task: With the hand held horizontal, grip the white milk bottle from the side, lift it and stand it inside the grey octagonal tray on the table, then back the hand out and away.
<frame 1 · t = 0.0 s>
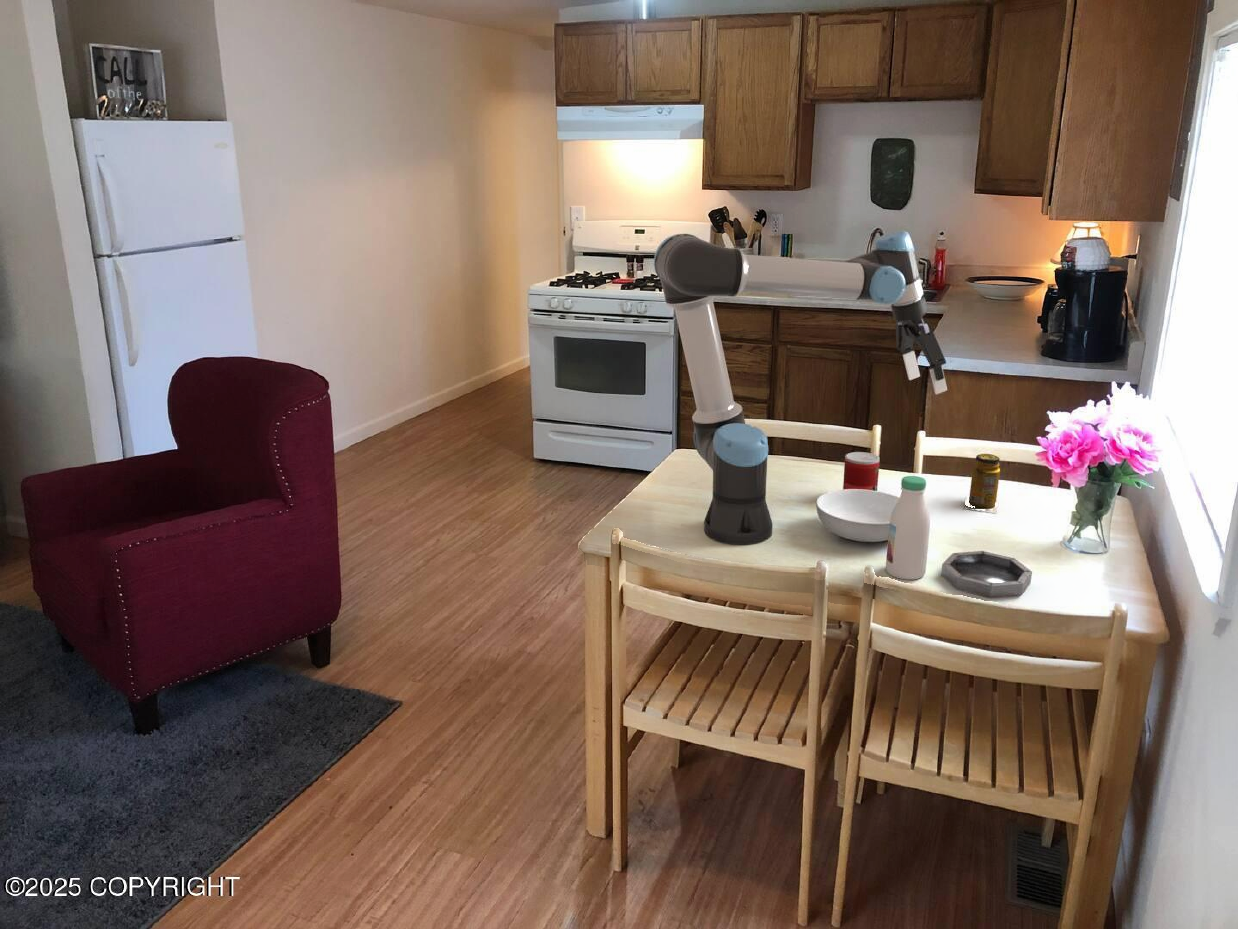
hand: (927, 384, 224), 28 cm above the table, tool tilted 20°, fingers open, 13 cm apart
condiment: (981, 506, 227), on the table
canned food: (859, 500, 231), on the table
grey octagonal tray: (985, 579, 189), on the table
serving bowl: (862, 534, 212), on the table
milk bottle: (905, 573, 192), on the table
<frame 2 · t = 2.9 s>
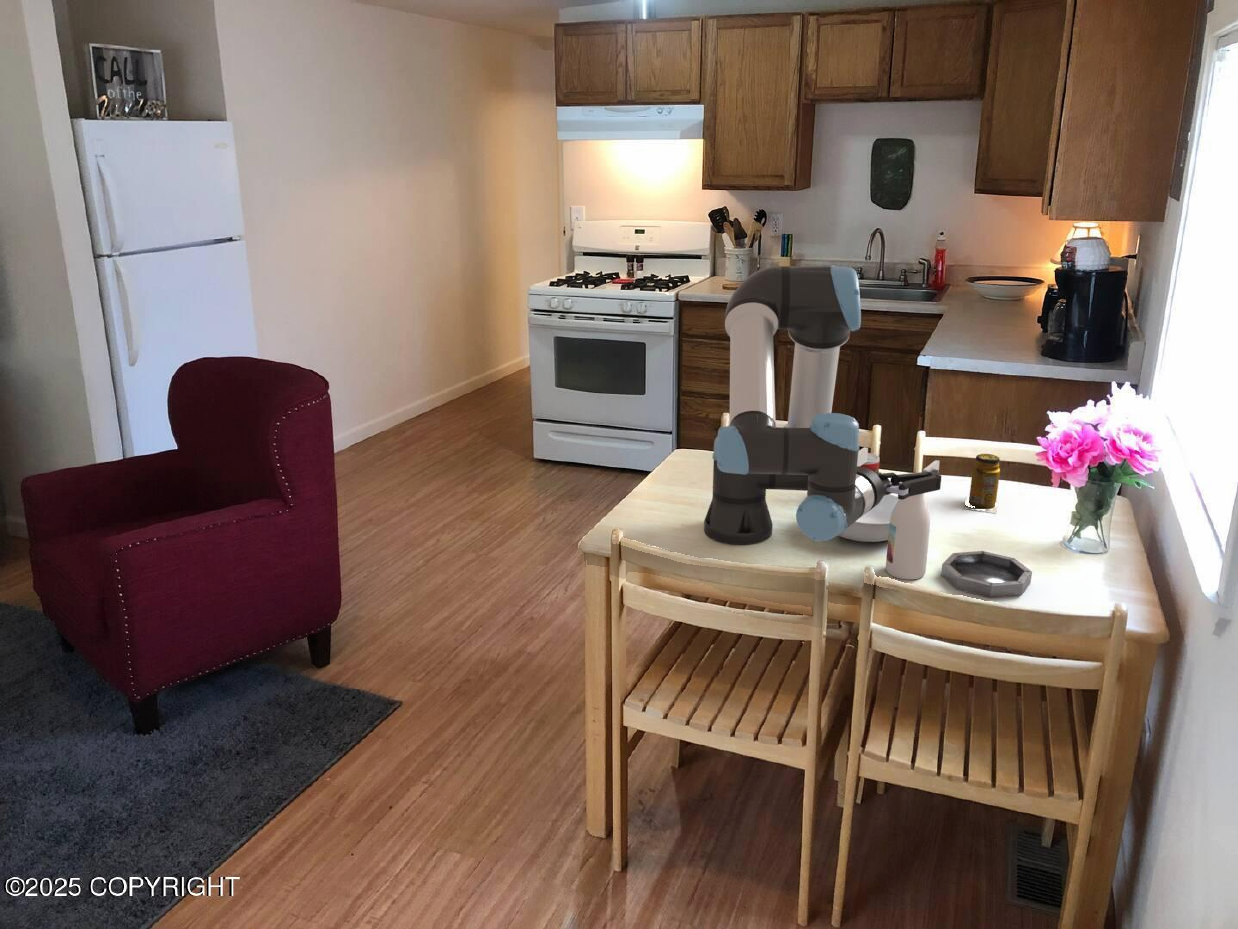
hand: (900, 460, 178), 26 cm above the table, tool horizontal, fingers open, 13 cm apart
nothing on the table moved.
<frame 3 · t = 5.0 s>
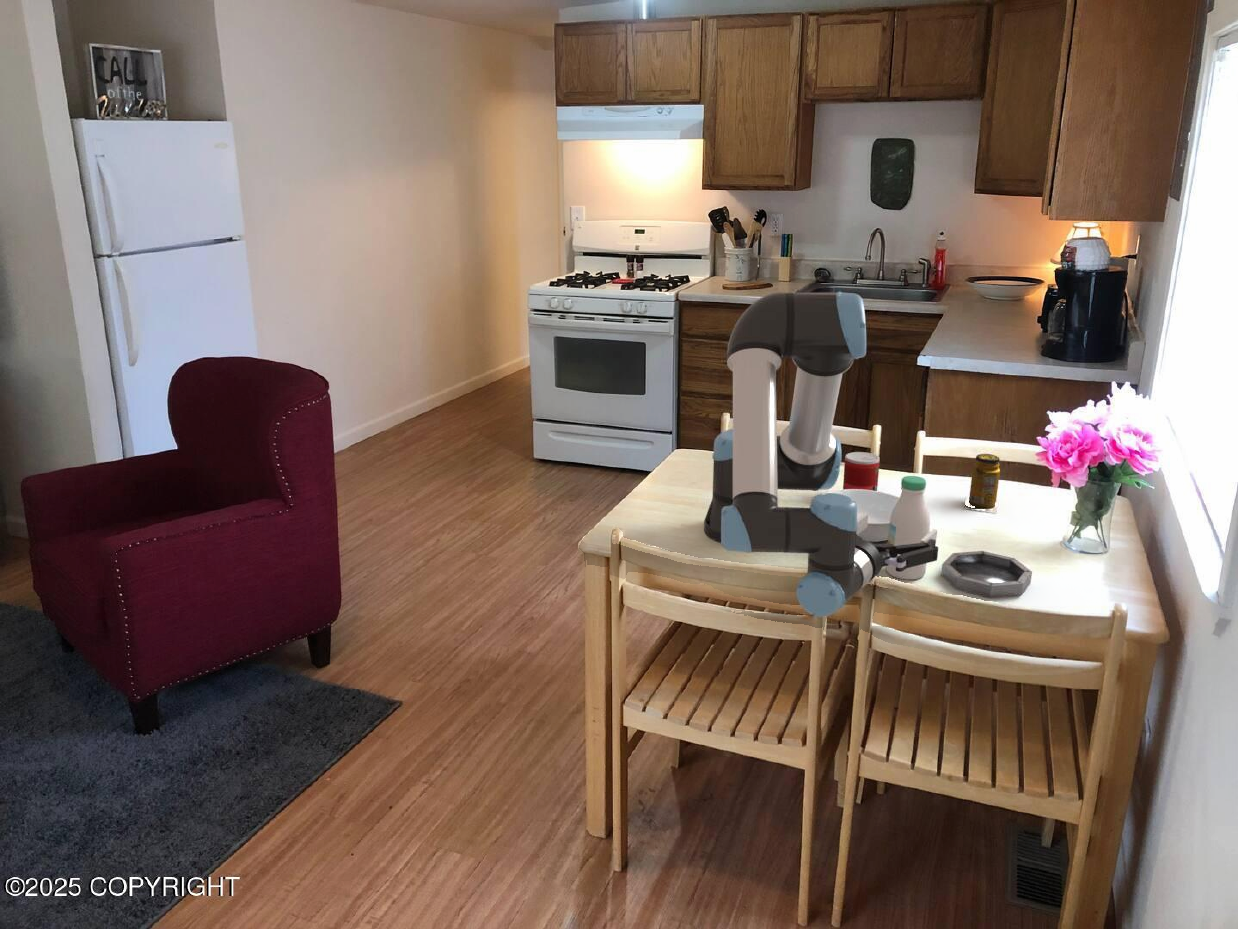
hand: (899, 527, 184), 12 cm above the table, tool horizontal, fingers open, 13 cm apart
nothing on the table moved.
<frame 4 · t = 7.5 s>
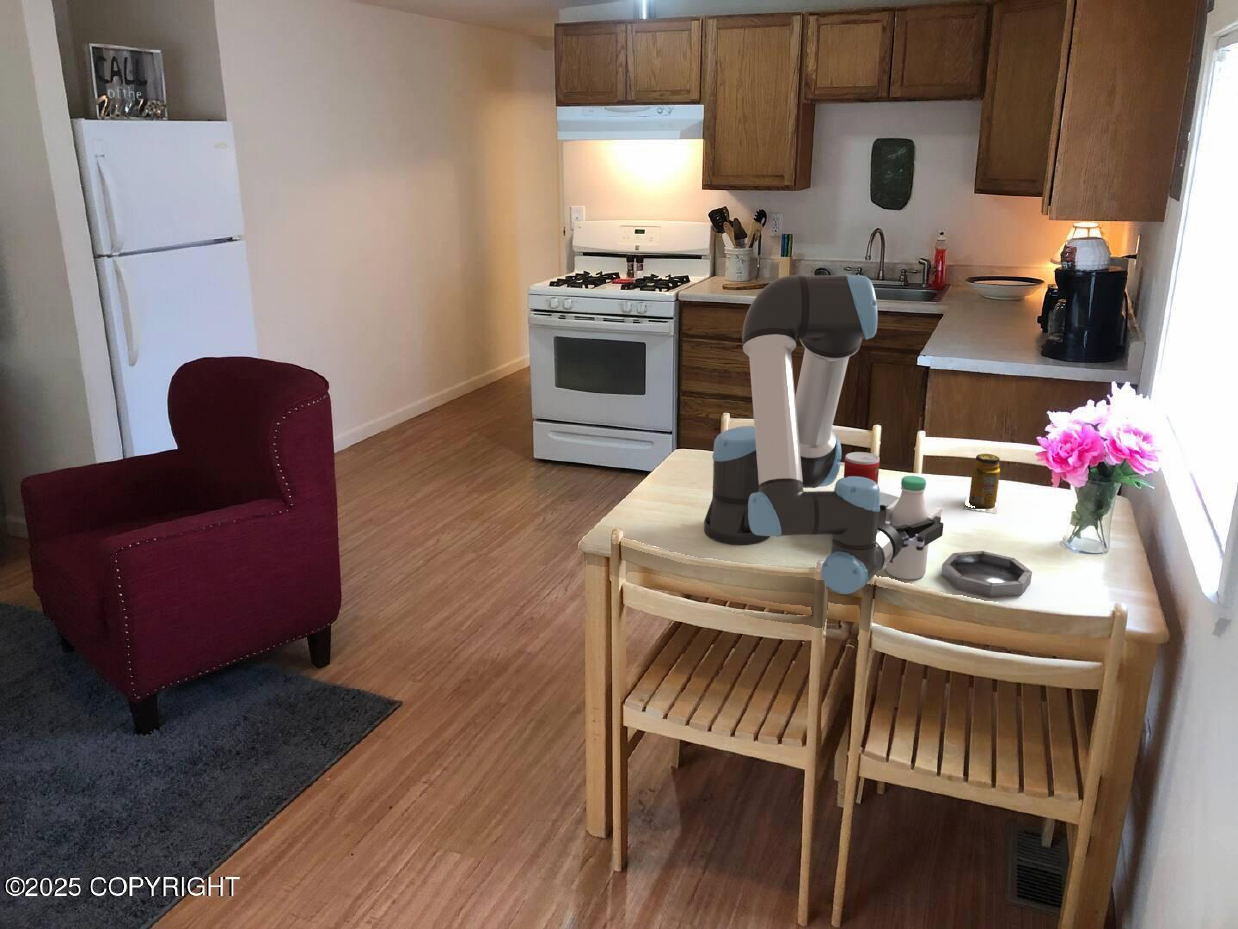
hand: (919, 509, 192), 12 cm above the table, tool horizontal, fingers closed on milk bottle, 7 cm apart
milk bottle: (905, 573, 192), on the table, touching gripper
everything else where it was.
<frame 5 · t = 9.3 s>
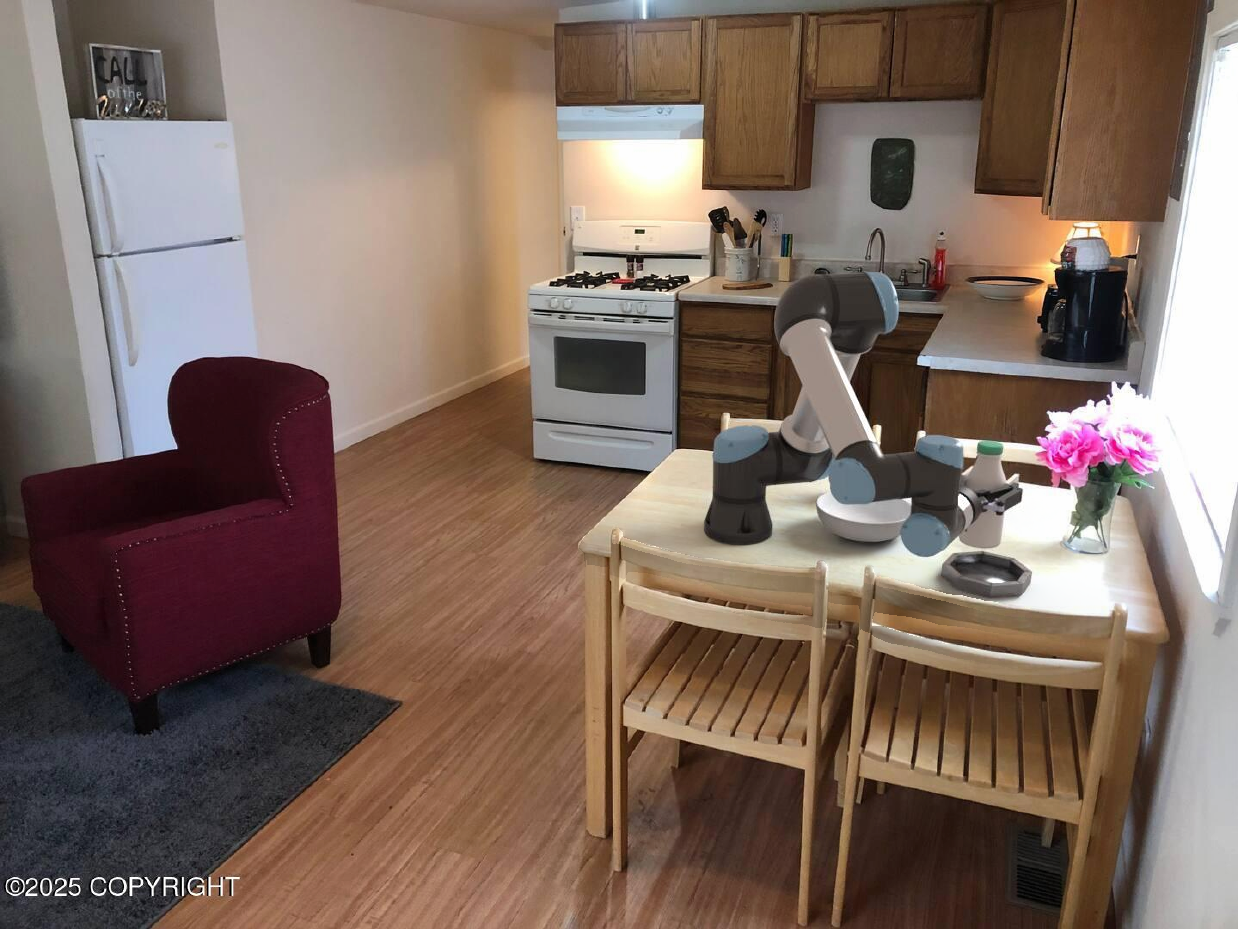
hand: (994, 476, 185), 20 cm above the table, tool horizontal, fingers closed on milk bottle, 7 cm apart
milk bottle: (979, 542, 186), point 8 cm above the table, touching gripper
everything else where it was.
when the fingers open (13 cm above the table, at t = 11.1 s): milk bottle stays where it is, resting on grey octagonal tray.
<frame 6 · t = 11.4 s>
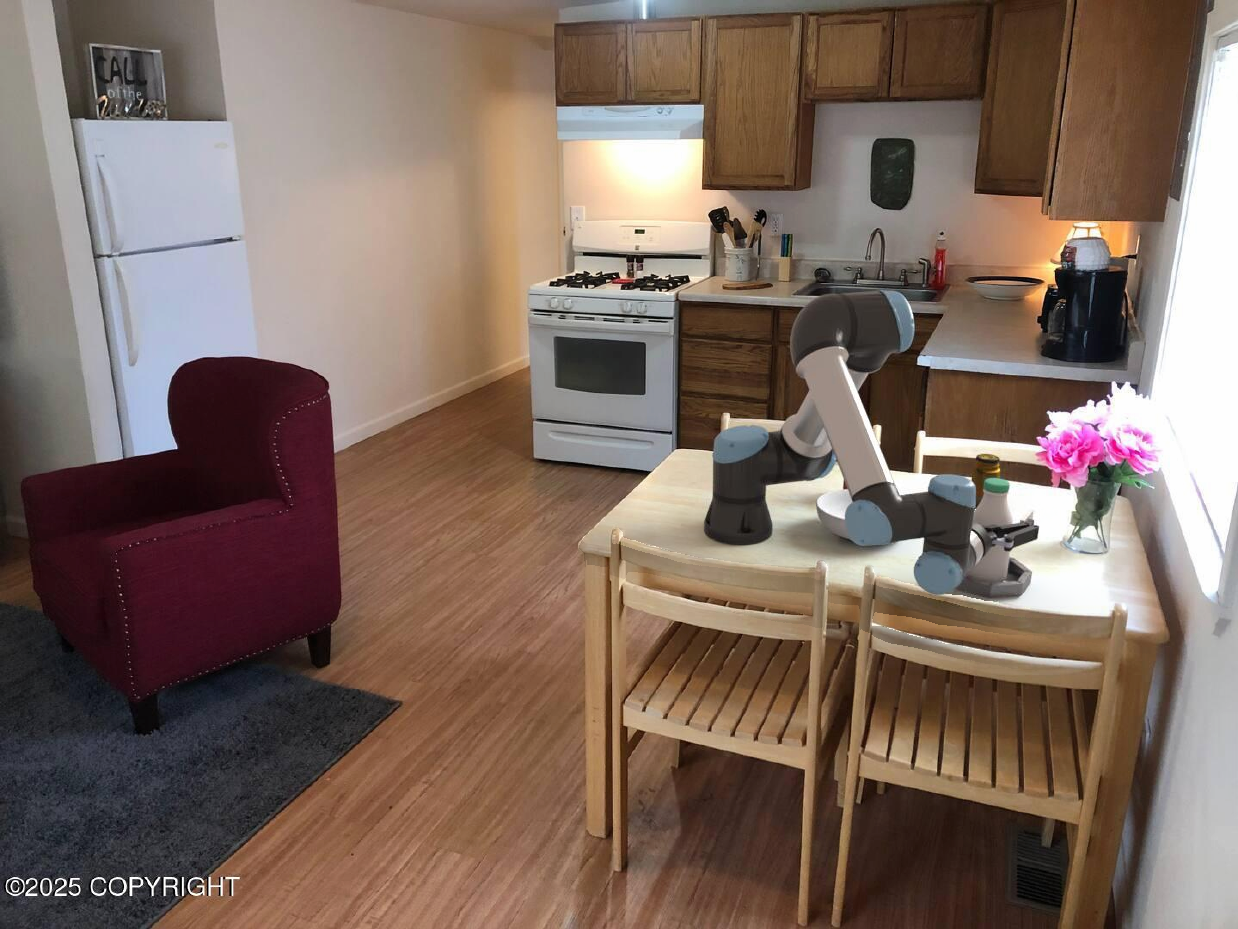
hand: (999, 509, 188), 13 cm above the table, tool horizontal, fingers open, 11 cm apart
milk bottle: (985, 577, 189), resting on grey octagonal tray
everything else where it was.
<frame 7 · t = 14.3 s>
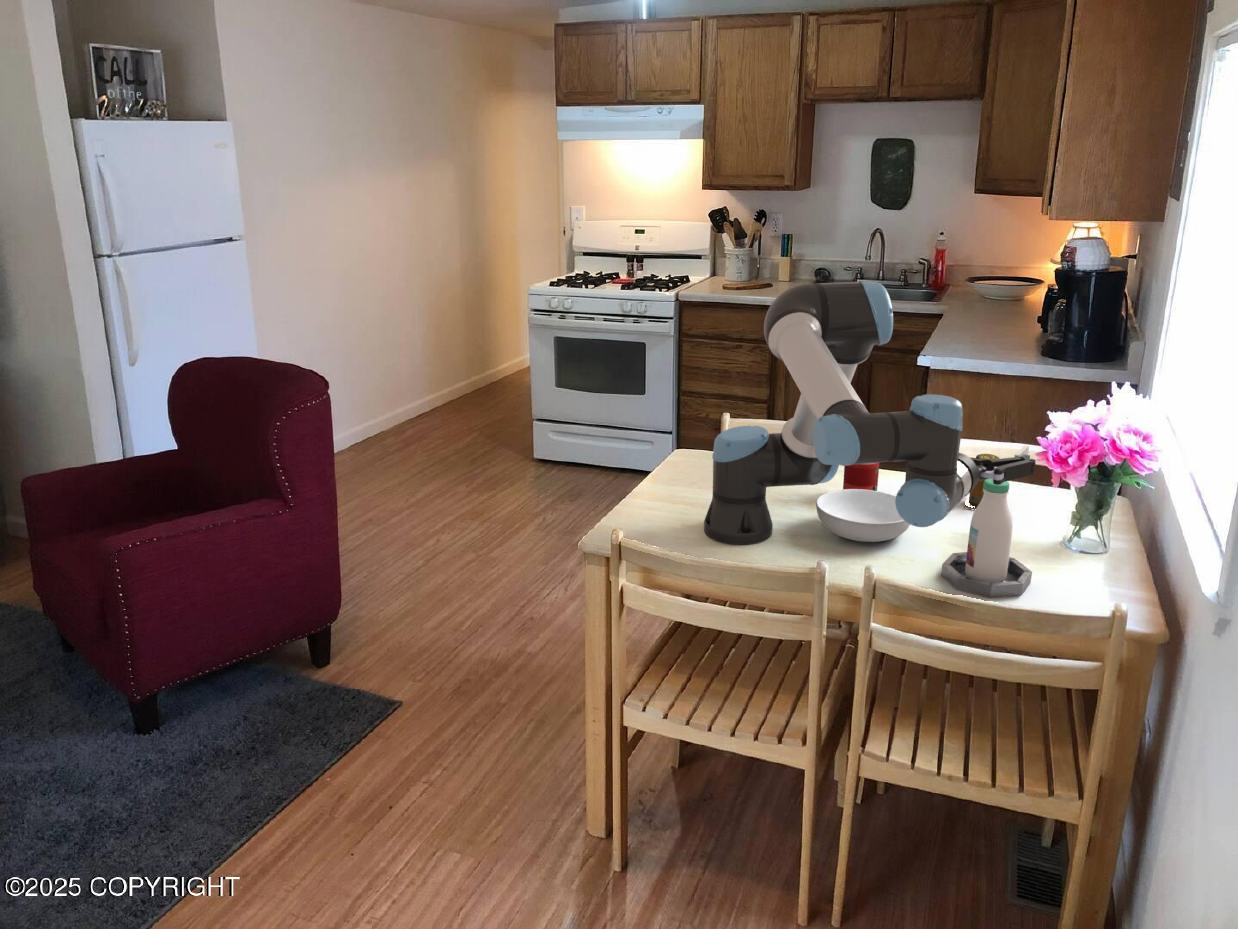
hand: (986, 447, 172), 30 cm above the table, tool horizontal, fingers open, 13 cm apart
nothing on the table moved.
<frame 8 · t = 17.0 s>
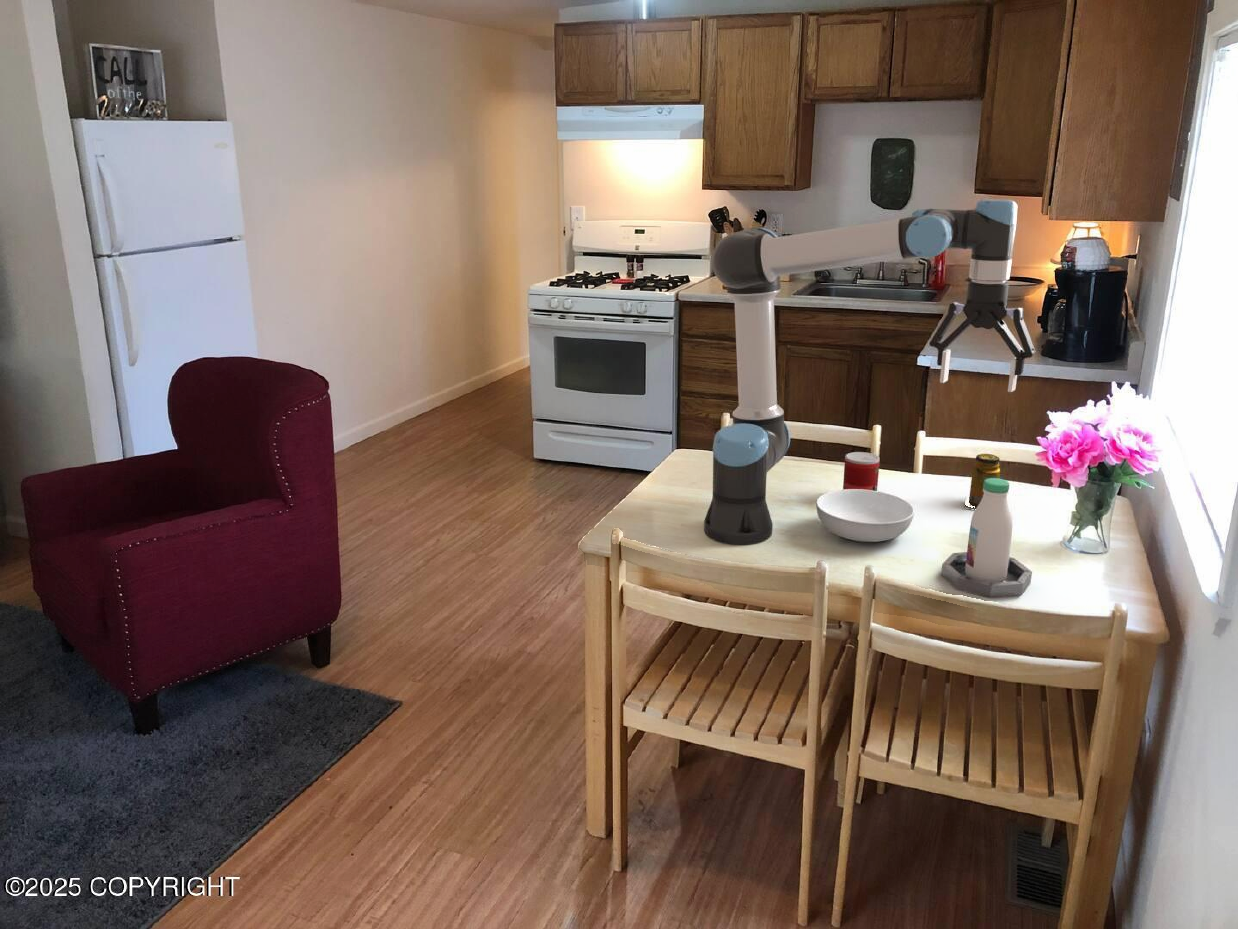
hand: (976, 386, 195), 35 cm above the table, tool pointing down, fingers open, 13 cm apart
nothing on the table moved.
at the end: milk bottle inside the target area on the grey octagonal tray (0.1 cm from its centre), point 0.4 cm above the grey octagonal tray's base; milk bottle tilted 0°; the gripper is holding nothing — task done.
